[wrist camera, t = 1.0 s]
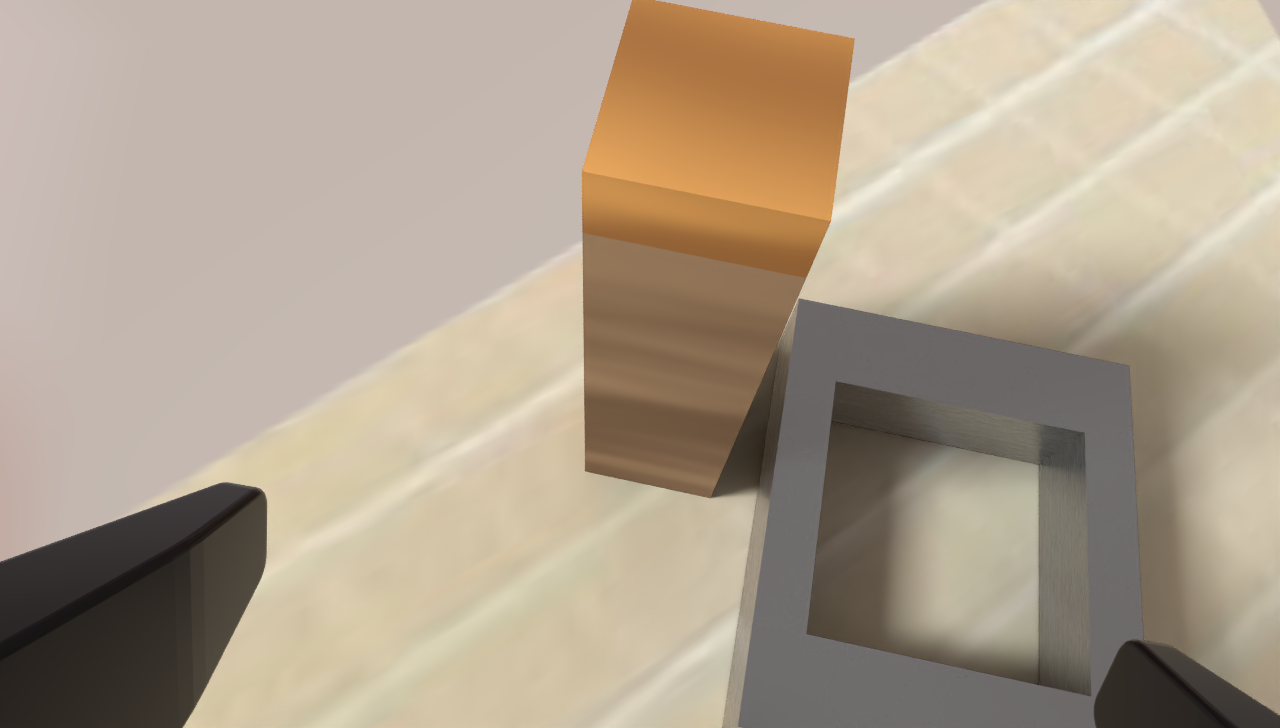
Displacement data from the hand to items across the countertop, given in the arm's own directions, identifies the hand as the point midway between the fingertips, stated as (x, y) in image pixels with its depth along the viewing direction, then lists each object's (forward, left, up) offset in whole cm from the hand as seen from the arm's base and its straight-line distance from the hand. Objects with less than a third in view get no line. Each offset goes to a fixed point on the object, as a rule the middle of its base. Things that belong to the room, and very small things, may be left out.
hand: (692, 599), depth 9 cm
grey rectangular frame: (+5, -7, -14) cm, 16 cm away
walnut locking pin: (+7, +1, -14) cm, 15 cm away
